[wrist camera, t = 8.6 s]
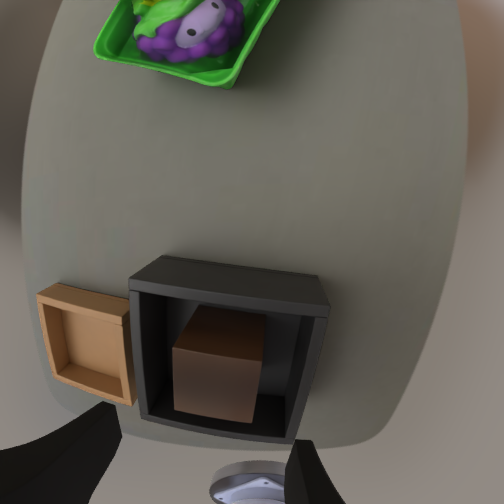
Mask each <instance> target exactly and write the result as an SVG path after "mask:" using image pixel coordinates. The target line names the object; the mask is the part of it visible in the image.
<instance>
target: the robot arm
mask: <svg viewBox="0 0 504 504" xmlns="http://www.w3.org/2000/svg"><path fill="white" fill-rule="evenodd" d="M121 438H122V433H121V429H120V425H119V420H118V416H117V411H116V407H115V405H113V404H110V403H107V402H104V401H102V402H100V403H99V404H97V405H96V406H94V407H93V408H91V409H90V410H88V411H86V412H85V413H83V414H82V415H80V416H79V417H77V418H76V419H74V420H73V421H71V422H69V423H68V424H66V425H64V426H63V427H61V428H59V429H57V430H55V431H54V432H51V433H49V434H48V435H46V436H44V437H41V438H39V439H37V440H34V441H32V442H29V443H27V444H23V445H20V446H16V447H12V448H9V449H4V450H0V504H88V503H89V500H90V498H91V495H92V494H93V492H94V490H95V488H96V486H97V485H98V483H99V481H100V480H101V478H102V476H103V475H104V473H105V471H106V470H107V468H108V466H109V464H110V462H111V461H112V459H113V458H114V456H115V454H116V451H117V449H118V446H119V443H120V441H121ZM214 497H215V498H216V499H218V500H220V501H222V502H224V503H226V504H346V503H345V502H344V501H343V499H342V498H341V496H340V495H339V493H338V492H337V490H336V488H335V487H334V485H333V483H332V482H331V480H330V478H329V476H328V474H327V473H326V471H325V469H324V467H323V465H322V463H321V461H320V458H319V456H318V454H317V451H316V449H315V446H314V444H313V442H312V441H311V440H298V439H295V442H294V445H293V448H292V450H291V454H290V456H289V459H288V462H287V465H286V468H285V482H284V486H282V485H280V484H278V483H276V482H274V481H273V480H271V479H269V478H267V477H260V478H257V479H255V480H252V481H250V482H247V483H244V484H242V485H239V486H236V487H233V488H230V489H227V490H224V491H221V492H218V493H215V494H214Z"/></svg>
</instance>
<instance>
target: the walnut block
mask: <svg viewBox="0 0 504 504" xmlns="http://www.w3.org/2000/svg"><path fill="white" fill-rule="evenodd" d="M265 322H266V315H265V314H258V313H250V312H243V311H235V310H228V309H221V308H215V307H208V306H202V305H198V307H197V308H196V310H195V311H194V313H193V315H192V316H191V318H190V320H189V321H188V323H187V324H186V326H185V328H184V329H183V331H182V333H181V334H180V336H179V338H178V339H177V341H176V343H175V344H174V346H173V348H172V352H173V388H174V409H175V410H178V411H182V412H187V413H192V414H197V415H202V416H207V417H213V418H219V419H225V420H231V421H238V422H246V423H252V420H253V415H254V409H255V403H256V397H257V391H258V385H259V379H260V373H261V366H262V359H263V346H264V334H265Z"/></svg>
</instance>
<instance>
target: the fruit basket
mask: <svg viewBox="0 0 504 504" xmlns="http://www.w3.org/2000/svg"><path fill="white" fill-rule="evenodd" d="M279 1H280V0H119V2H118V3H117V5H116V7H115V8H114V10H113V11H112V13H111V14H110V16H109V18H108V19H107V21H106V23H105V25H104V26H103V28H102V30H101V31H100V33H99V35H98V37H97V39H96V41H95V43H94V48H93V51H94V54H95V55H96V57H97V58H99V59H101V60H107V61H113V62H119V63H124V64H129V65H134V66H138V67H143V68H147V69H151V70H155V71H159V72H163V73H167V74H171V75H174V76H178V77H181V78H185V79H188V80H191V81H194V82H197V83H200V84H203V85H207V86H212V87H221V88H224V89H230V88H231V87H232V86H233V85H234V83H235V81H236V79H237V77H238V75H239V73H240V71H241V69H242V65H243V62H244V60H245V58H246V57H247V56H248V55H249V54H250V52H251V50H252V49H253V47H254V45H255V43H256V41H257V40H258V38H259V36H260V33H261V31H262V28H263V26H264V25H265V24H267V22H268V20H269V19H270V17H271V15H272V14H273V12H274V10H275V9H276V7H277V5H278V3H279Z"/></svg>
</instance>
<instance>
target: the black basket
mask: <svg viewBox="0 0 504 504" xmlns="http://www.w3.org/2000/svg"><path fill="white" fill-rule="evenodd" d="M129 289H130V290H129V309H130V327H131V341H132V352H133V363H134V372H135V381H136V388H137V396H138V403H139V410H140V416H141V419H144V420H147V421H151V422H155V423H159V424H163V425H167V426H171V427H175V428H179V429H184V430H188V431H193V432H198V433H203V434H209V435H214V436H220V437H227V438H233V439H240V440H248V441H257V442H266V443H278V444H293V443H294V440H295V437H296V434H297V431H298V428H299V425H300V422H301V418H302V415H303V412H304V409H305V405H306V402H307V398H308V395H309V391H310V388H311V384H312V381H313V377H314V373H315V370H316V366H317V362H318V358H319V354H320V350H321V346H322V342H323V338H324V334H325V330H326V326H327V321H328V316H329V312H330V304H329V302H328V299H327V297H326V295H325V292H324V290H323V288H322V285H321V283H320V281H319V278H318V276H317V275H309V274H300V273H292V272H284V271H276V270H268V269H260V268H252V267H245V266H237V265H229V264H222V263H214V262H207V261H199V260H192V259H185V258H177V257H170V256H163V255H162V256H160V257H159V258H157V259H156V260H154V261H153V262H151V263H150V264H148V265H147V266H146V267H144V268H143V269H141V270H140V271H138V272H137V273H135V274H134V275H132V276H131V277H129ZM198 305H202V306H208V307H215V308H221V309H228V310H235V311H243V312H250V313H258V314H265V315H266V322H265V334H264V346H263V359H262V366H261V373H260V379H259V385H258V391H257V397H256V403H255V409H254V415H253V420H252V423H246V422H238V421H231V420H225V419H219V418H213V417H207V416H202V415H197V414H192V413H187V412H182V411H178V410H175V409H174V388H173V352H172V348H173V346H174V344H175V343H176V341H177V339H178V338H179V336H180V334H181V333H182V331H183V329H184V328H185V326H186V324H187V323H188V321H189V320H190V318H191V316H192V315H193V313H194V311H195V310H196V308H197V307H198Z"/></svg>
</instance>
